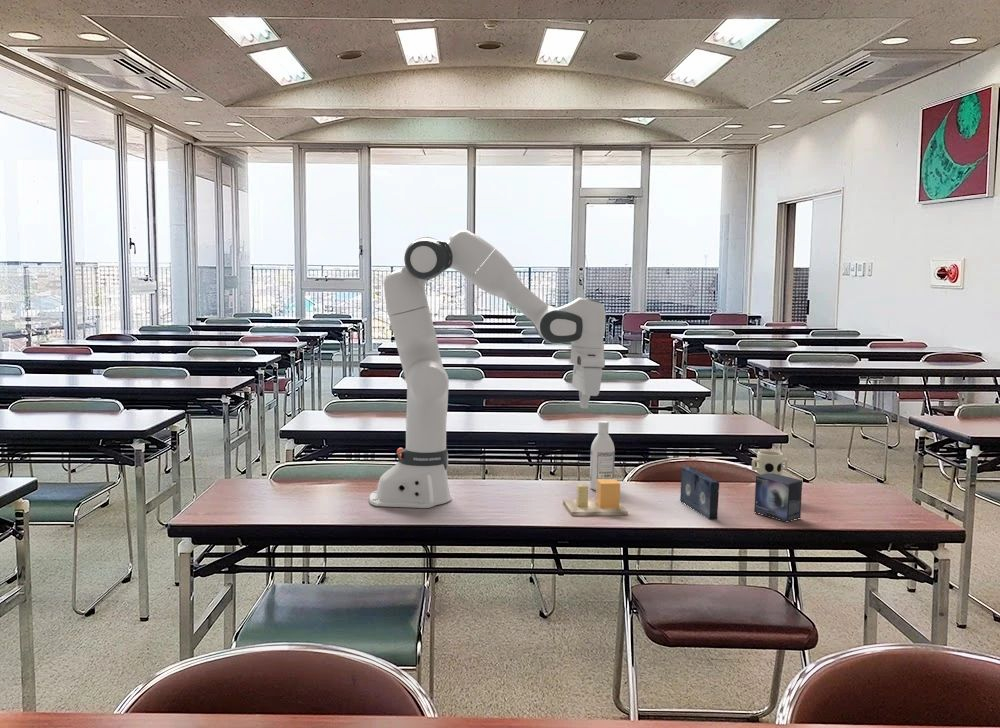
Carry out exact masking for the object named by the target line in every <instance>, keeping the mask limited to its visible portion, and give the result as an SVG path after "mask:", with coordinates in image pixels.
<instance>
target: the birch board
mask: <svg viewBox="0 0 1000 728" xmlns="http://www.w3.org/2000/svg"><path fill="white" fill-rule="evenodd" d="M562 505H564V506H565V509H566V510H567V511H568V513H569V515H570V516H573V517H574V516H575V517H577V516H580V517H581V516H584V517H585V516H628V515H629V511H628V510H627V509H626V508H625V506H624V505H623V504H622V503H621V502H620V504H619V508H600V507H599V506H598V505H597V504H596V499H588V507H578V506H577V505H576V499H563V500H562Z"/></svg>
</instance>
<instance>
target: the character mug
mask: <svg viewBox="0 0 1000 728" xmlns="http://www.w3.org/2000/svg"><path fill="white" fill-rule="evenodd" d="M788 468H789V460H788V459H787V458H784V453H783V452H781V451H776V450H768V449H767V450H758V451H757V456H756V458H753V459H752V460H751V470H752V471H756V473H757V475H762V474H766V473H774V474H778V475H782V474H783V472H784V471H786V470H788Z"/></svg>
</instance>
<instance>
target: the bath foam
mask: <svg viewBox="0 0 1000 728" xmlns="http://www.w3.org/2000/svg"><path fill="white" fill-rule="evenodd" d="M609 423H610V422H609V421H606V420H599V421H598V423H597V424H598V426H597V427H598V429H597V430H598V433H597V435H596V436H595V437H594V439H593V441H592V443H591V446H590V468H589V469H590V470H589V488H590V489H591V490H594V491H596V484H597V479H615V453H616V450H615V444H614V441H613V440H612V438H611V436H610V435H609V426H610V425H609Z"/></svg>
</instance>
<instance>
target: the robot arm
mask: <svg viewBox="0 0 1000 728" xmlns="http://www.w3.org/2000/svg"><path fill="white" fill-rule="evenodd" d="M403 259H404V266H403V267H402V268H400V269H397V270H394V271H391V272H390V273H388V274H387V276H386V277H385V279H384V282H383V288H384V289H383V290H384V299H385V304H386V310H387V314H388V319H389V322H390V326H391V329H392V334H393V337H394V341H395V344H396V349H397V353H398V355H399V361H400V364H401V367H402V371H403V376H404V379H405V383H406V411H405V412H406V415H405V417H406V418H405V448H403V447H399V448H397V450H396V454H397V459H398V460H397V461H398V462H397V463H395V464H394V465H393V466H392V467H391V468H389V469H388V470H386V471H385V472H384V473H382V475H381V476H380V478H379V480H378V483H377V489H376V490H374V491H372V492H371V493H370V494H369V499H368V501H369V503H370V504H371V505H372V506H375V507H392V508H393V507H394V508H398V507H399V508H415V509H416V508H419V509H430V508H433V507H435V506H437V505H438V506H439V505H442V504H446V503H448V502H450V501H451V500H452V495H451V490H450V487H449V480H448V472H447V470H448V466H449V453H448V448H447V418H448V417H447V416H448V404H449V383H450V381H449V380H450V379H449V376H448V373H447V371H446V370H445V368H444V366H443V361H442V358H441V357H442V356H441V354H440V347H439V345H438V339H437V334H436V330H435V325H434V322H433V318H432V314H431V310H430V306H429V303H428V299H427V294H426V290H425V289H426V284H427V282H428V281H429V280H432V279H435V278H437V277H439V276H440V275H441V274H443V272H445V271H446V270H448V269H452V270H455V271H457V272H458V273H460V274H461V275H462V276H463V277H464V278H466V279H467V280H468V281H469V282H470V283H472V284H473V285H475V286H476V287H478V289H480V290H482V291H484V292H485V293H488V294H489V295H491V296H494V297H498V298H501V299H502V300H504V301H506V302H507V303H510V304H511V306H513V307H514V308H515V309H517V310H518V311H519V312H520V313H522V314H523V315H524V316H525V317H527V319H529V320H530V322H531V323H532V324H533V326H534V329H535V330H536V333H537V334H538V336H539V337H540V338H541V340H543V341H546V342H547V343H550V344H551V345H552V344H554V345H562V344H565V343H566V344H567V343H571V347H570V348H571V350H570V361H569V362H570V363H571V364H573V370H572V381H571V383H572V387H573V388H574V389H576V390H577V391H578V396H579V397H578V398H579V407H580V408H581V409H582V410H584V409H589V403H590V399H591V396H592V397H597V396H599V394H600V390H601V383H602V376H603V369H602V368H605V364H606V360H605V355H604V354H605V353H604V351H605V345H604V337H605V332H606V308H605V306H604V304H603V303H602V302H601V301H599V300H598V299H597V300H596V299H594V298H589V297H584V296H579V297H577V298H576V299H574V300H572V301H571V302H569V303H566V304H564V305H562V306H561V305H560V306H555V305H550V304H548V303H547V302H545V301H543V300H542V299H541V298H540V297H538V296H537V295H536V294H535V293H534V292H532V290H530V289H529V288H528V287H526V285H525V284H524V283H523V282H522V281H521V279H520V278H519V276H518V275H517V273H516V270H515V268H514V267H513V265H512V264H511V263H510V261H509V260H508V259H507V258H506V257H505V256H504V255H503V254H502V253H501V252H500V251H499V250H498V249H497V248H495V247H494V246H493V245H492V244H490V243H489V242H488V241H486V240H485V239H483V238H482V237H480V236H479V235H477V234H475V233H474V232H472V231H469V230H467V229H461V230H457V231H456V232H455V233H453V234H452V235H450V237H449V238H448V239H447V240H445V241H444V240H438V239H436V238H434V237H429V236H424V237H423V236H422V237H420V238H417V239H415V240H414V241H413V242H411V243H410V244H409V245H408V246H407V247H406V250H405V251H404V258H403Z"/></svg>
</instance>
